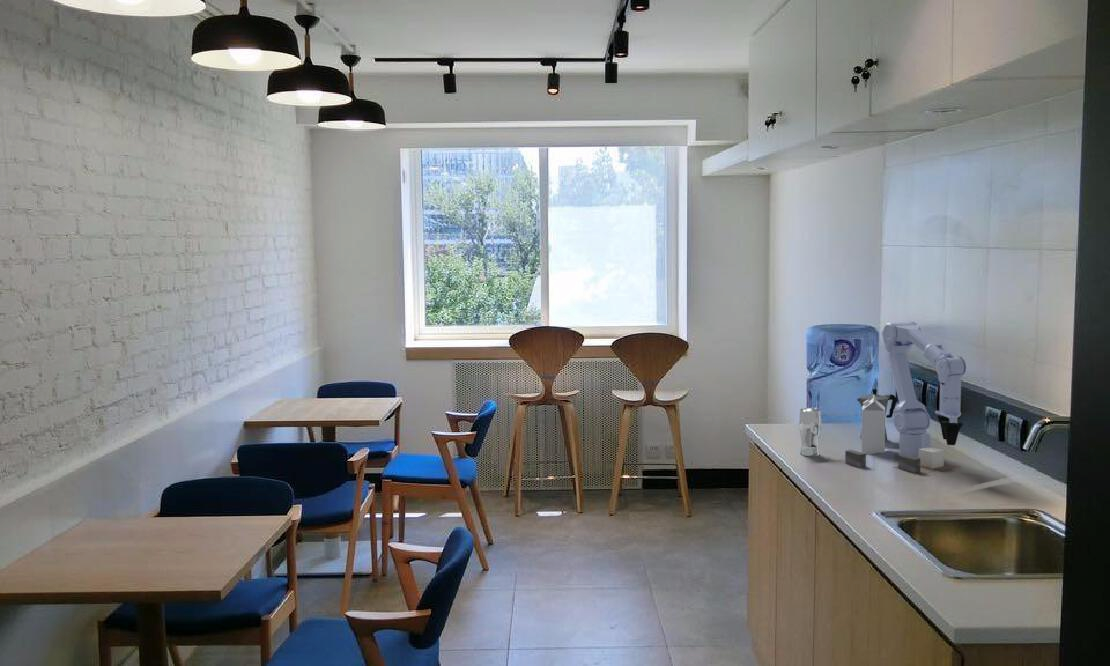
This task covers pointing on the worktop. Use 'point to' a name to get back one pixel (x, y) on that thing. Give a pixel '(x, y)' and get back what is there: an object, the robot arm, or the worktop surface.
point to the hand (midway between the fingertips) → (949, 442)
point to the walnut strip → (927, 470)
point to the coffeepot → (883, 401)
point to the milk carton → (873, 427)
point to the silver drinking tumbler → (810, 431)
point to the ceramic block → (931, 457)
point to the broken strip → (855, 458)
